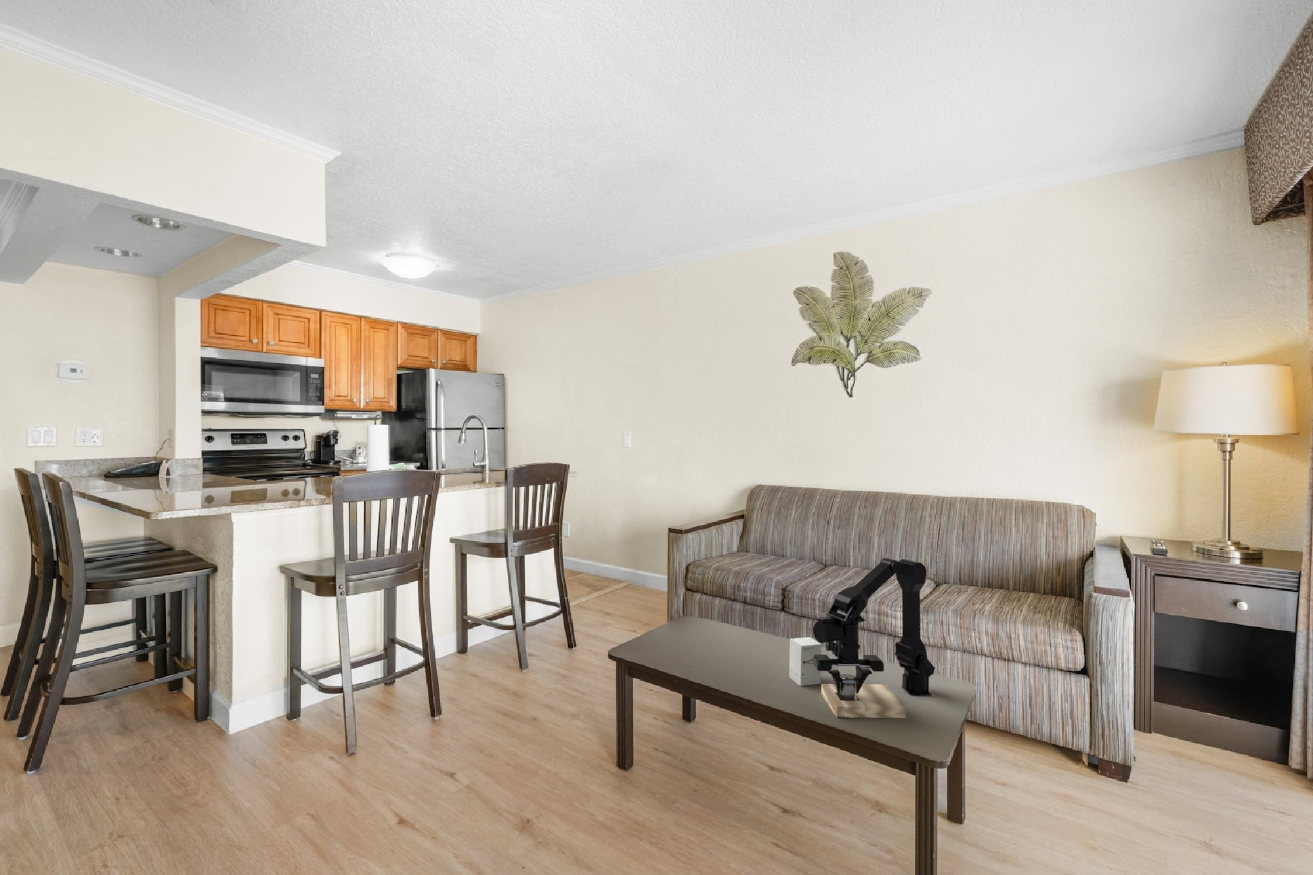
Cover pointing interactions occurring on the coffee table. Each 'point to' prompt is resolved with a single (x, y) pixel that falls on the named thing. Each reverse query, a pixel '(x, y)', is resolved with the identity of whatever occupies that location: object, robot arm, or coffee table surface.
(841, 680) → the flared metal knob
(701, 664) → the coffee table surface
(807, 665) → the supplement box
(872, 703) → the plate
